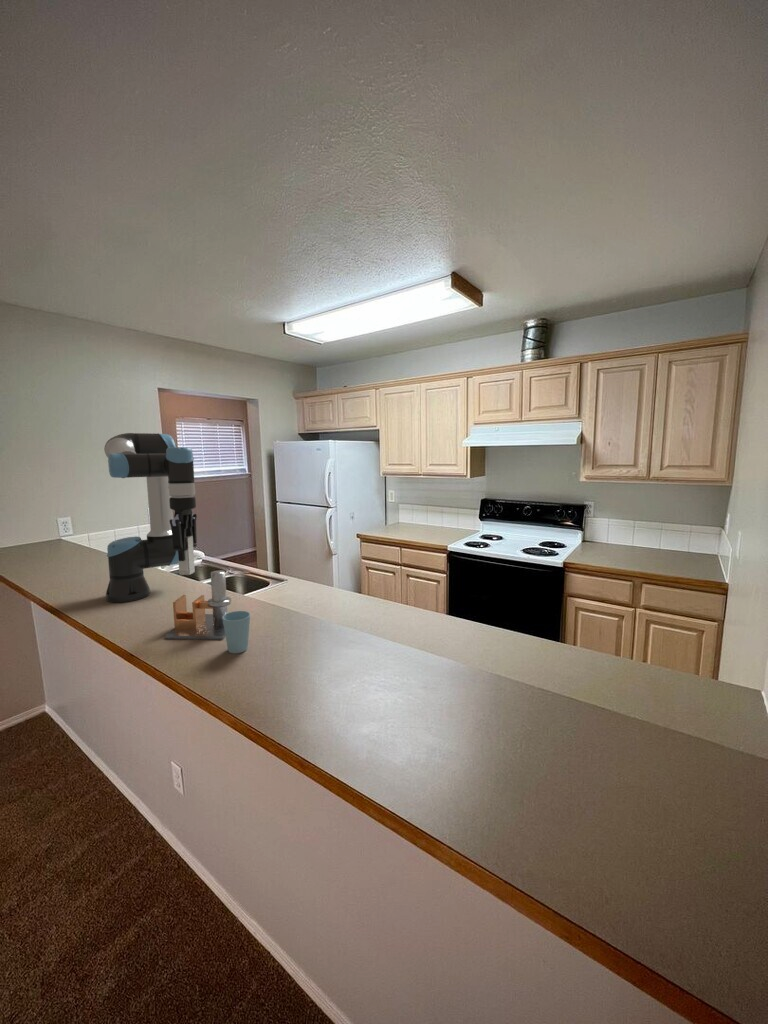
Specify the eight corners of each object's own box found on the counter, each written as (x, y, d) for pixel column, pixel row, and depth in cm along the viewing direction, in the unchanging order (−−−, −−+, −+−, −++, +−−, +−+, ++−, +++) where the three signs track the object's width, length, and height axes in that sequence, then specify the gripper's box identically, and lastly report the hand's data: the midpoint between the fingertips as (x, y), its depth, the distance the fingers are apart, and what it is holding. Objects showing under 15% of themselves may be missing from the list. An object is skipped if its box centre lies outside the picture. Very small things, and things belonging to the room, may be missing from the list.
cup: (248, 641, 131) (247, 608, 129) (254, 651, 124) (252, 617, 123) (222, 646, 127) (220, 613, 126) (227, 657, 120) (225, 622, 119)
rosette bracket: (191, 616, 150) (188, 564, 147) (242, 617, 150) (240, 564, 147) (165, 638, 132) (161, 579, 130) (222, 639, 132) (219, 580, 129)
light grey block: (184, 571, 140) (182, 535, 138) (194, 571, 140) (192, 535, 138) (179, 574, 136) (176, 537, 135) (189, 574, 136) (187, 537, 135)
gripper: (183, 494, 143) (187, 562, 146) (156, 499, 126) (161, 575, 130) (205, 494, 143) (209, 562, 146) (181, 499, 126) (186, 575, 130)
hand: (186, 568), depth 138 cm, fingers closed on light grey block, 3 cm apart
